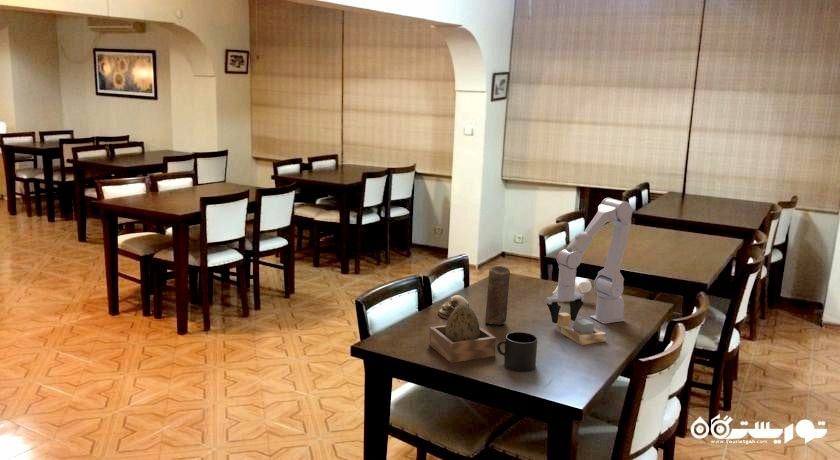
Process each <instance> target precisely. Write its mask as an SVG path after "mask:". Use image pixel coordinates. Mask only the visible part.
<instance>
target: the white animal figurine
mask: <svg viewBox="0 0 840 460" xmlns="http://www.w3.org/2000/svg"><path fill="white" fill-rule="evenodd" d="M591 290H592V282H591V281H590V280H588V279H582V280H581V281H579V283H577V282H576V281H575V291H574V294H584V293H589V291H591ZM557 293H558V285H557V286H556V288H555V289H554V291H552V294H553V295H552V296H554V295H557Z"/></svg>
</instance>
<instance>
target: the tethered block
mask: <svg viewBox="0 0 840 460" xmlns="http://www.w3.org/2000/svg"><path fill="white" fill-rule="evenodd" d="M571 321H572V320H571V315H570V313H567V312H566V311H565V312H559V314H558V322H557V323H556V326H557V327H559V328H561V326H566V327H568V328H570V329H572V330H574V331H575V332H577V333H579V334H581V335H585V334H591V333H593V330H594V329H595V322H592V321H591V320H589V319H587V318H583V319H576V320H575V321H574V326H573V328H572V327H571Z"/></svg>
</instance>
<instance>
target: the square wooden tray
mask: <svg viewBox="0 0 840 460" xmlns="http://www.w3.org/2000/svg"><path fill="white" fill-rule="evenodd" d="M479 327H480V334H479V338H478V339H472V340H465V341H458V342H452V341H451V340H450V339H449V338H447V337H446V335H445V328H446V324H445V325H437V326H430V327H429V342H428V343H429V344H428V345H429V346H430V347H431V348H432V349H433V350H435V351H436V352H437V353H438V354H439V355H441V356H442V357H443V358H444V357H445V358H444V359H446V360H447V361H448V362H450V364H452V363H458V362H464V361H470V360H476V359H477V360H478V359H485V358H491V357H495V356H496V349H497V346H496V345H497V344H496V343H497V337H496V336H494V335H493V334H491V333H490V332H488V331H487V330H485V328H482V326H479Z"/></svg>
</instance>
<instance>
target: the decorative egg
mask: <svg viewBox="0 0 840 460" xmlns="http://www.w3.org/2000/svg"><path fill="white" fill-rule="evenodd" d="M445 325H446V328H445V335H446V337H447V338H449V339H450V340H451V341H452V342H458V341H465V340H472V339H478V338H479V334H480V327H481V326H480V322H479V318H478V316H477V315H476V312H475V311H474V310H473V308H471V307H470V305H469V306H467V305H460V306H458V307H457V308H455V309H454V311H453V312H452V313H451V315H450V316H449V318H448V320H447V321H446V324H445Z"/></svg>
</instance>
